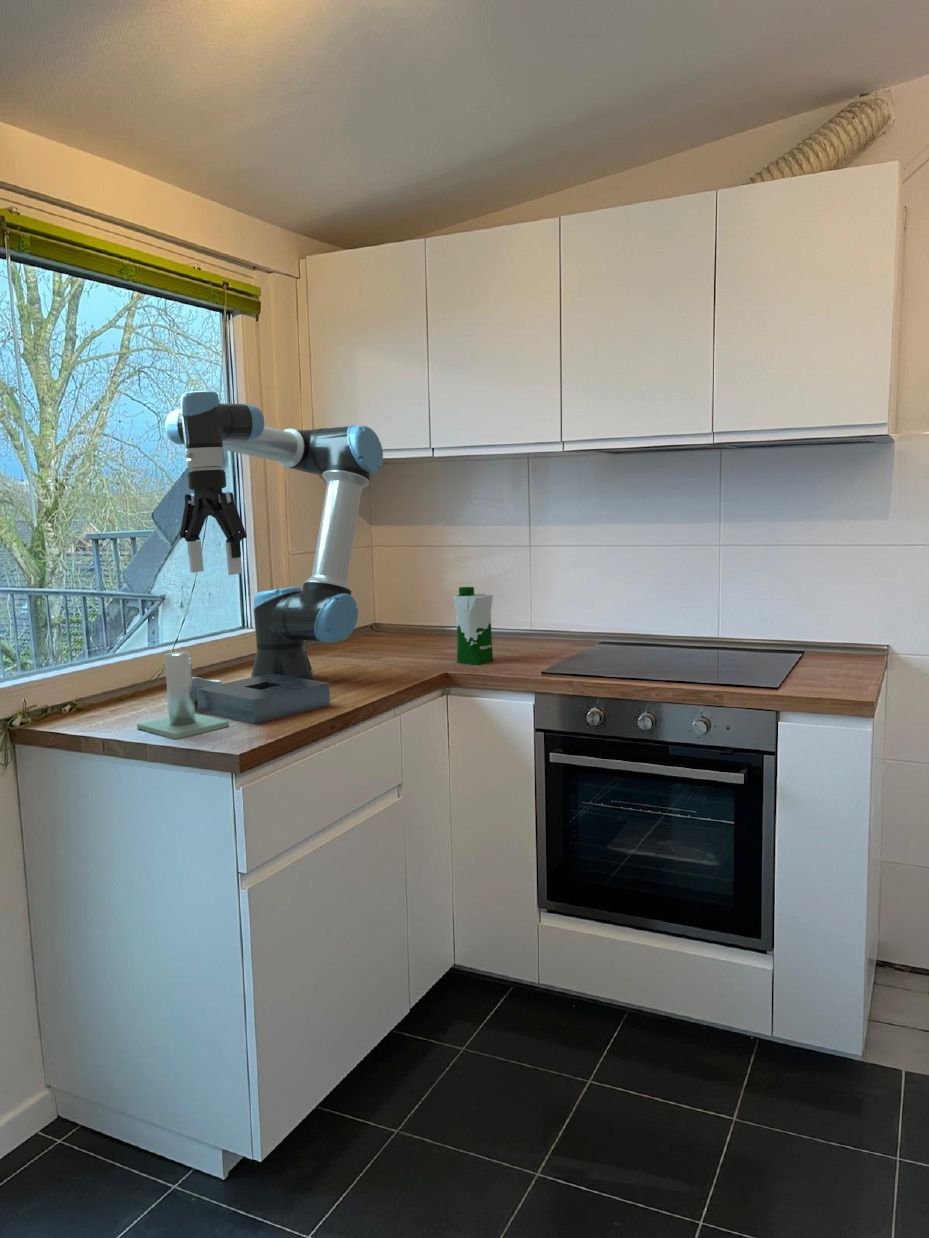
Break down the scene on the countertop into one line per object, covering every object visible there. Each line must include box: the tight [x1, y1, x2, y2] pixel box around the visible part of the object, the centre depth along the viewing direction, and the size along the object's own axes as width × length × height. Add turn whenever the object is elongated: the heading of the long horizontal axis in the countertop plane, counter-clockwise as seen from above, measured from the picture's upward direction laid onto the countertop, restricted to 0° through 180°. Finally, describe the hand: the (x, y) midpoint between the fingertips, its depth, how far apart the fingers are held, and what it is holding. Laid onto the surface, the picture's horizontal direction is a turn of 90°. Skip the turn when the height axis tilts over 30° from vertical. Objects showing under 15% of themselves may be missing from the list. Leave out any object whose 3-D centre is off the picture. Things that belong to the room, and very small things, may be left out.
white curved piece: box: [193, 676, 222, 702], centre depth 207 cm, size 24×12×7 cm, turn 9°
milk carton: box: [452, 586, 494, 666], centre depth 247 cm, size 9×9×20 cm
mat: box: [136, 713, 230, 740], centre depth 185 cm, size 14×12×1 cm
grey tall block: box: [164, 651, 196, 726], centre depth 184 cm, size 5×5×14 cm
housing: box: [197, 674, 331, 725], centre depth 200 cm, size 20×20×5 cm
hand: (215, 573), depth 192 cm, fingers open, 13 cm apart
